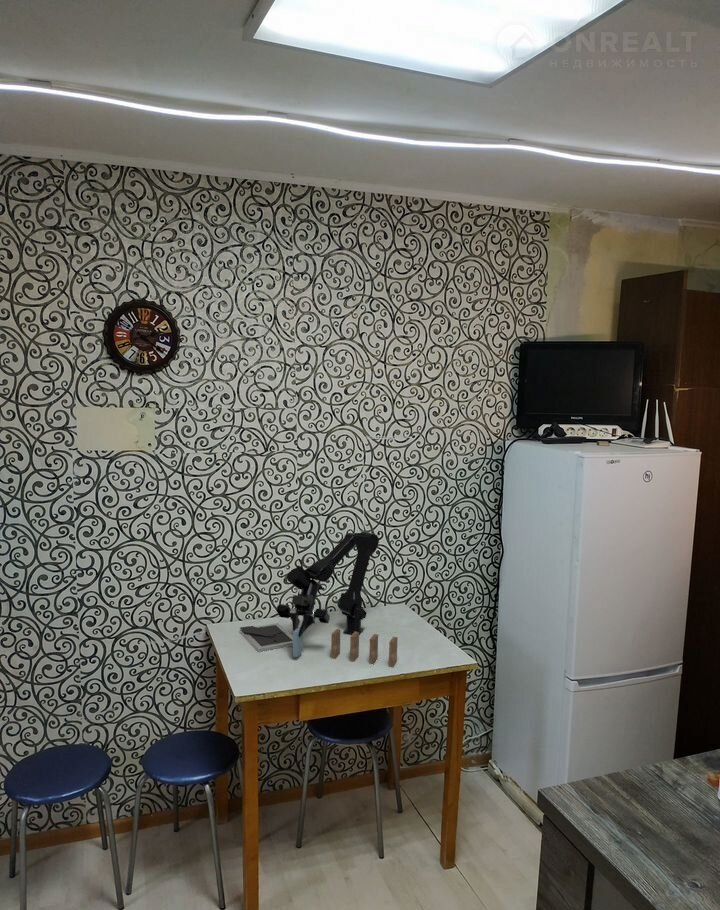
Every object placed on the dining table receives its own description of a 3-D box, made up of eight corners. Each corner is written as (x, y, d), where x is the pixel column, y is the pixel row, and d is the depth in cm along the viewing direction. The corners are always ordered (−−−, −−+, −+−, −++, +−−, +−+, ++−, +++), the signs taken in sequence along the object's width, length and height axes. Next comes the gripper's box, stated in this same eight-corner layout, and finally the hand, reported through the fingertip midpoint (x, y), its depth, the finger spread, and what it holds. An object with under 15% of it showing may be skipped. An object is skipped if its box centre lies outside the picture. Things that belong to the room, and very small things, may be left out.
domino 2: (331, 658, 248) (331, 633, 247) (335, 652, 253) (336, 628, 252) (335, 659, 248) (335, 634, 247) (340, 653, 253) (340, 629, 252)
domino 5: (388, 666, 242) (389, 641, 241) (392, 661, 247) (393, 636, 246) (393, 667, 242) (393, 642, 241) (396, 661, 247) (397, 637, 245)
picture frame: (239, 634, 271) (258, 654, 252) (239, 627, 270) (258, 646, 252) (278, 628, 278) (299, 646, 260) (278, 621, 278) (299, 639, 259)
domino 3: (350, 661, 246) (350, 636, 245) (354, 655, 251) (354, 631, 250) (354, 661, 246) (354, 637, 245) (358, 656, 251) (359, 632, 250)
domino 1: (292, 656, 246) (293, 631, 245) (298, 651, 251) (298, 626, 250) (297, 657, 245) (297, 632, 244) (302, 651, 250) (302, 627, 249)
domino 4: (369, 664, 244) (369, 639, 243) (373, 658, 249) (373, 633, 248) (373, 664, 244) (374, 639, 243) (377, 659, 249) (378, 634, 248)
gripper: (278, 582, 252) (265, 622, 243) (327, 587, 246) (315, 629, 237) (286, 596, 260) (274, 636, 251) (334, 602, 255) (323, 643, 246)
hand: (296, 635), depth 246 cm, fingers closed on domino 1, 2 cm apart
